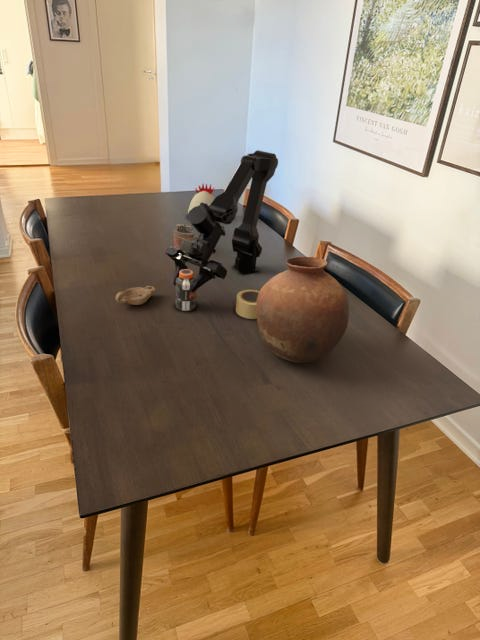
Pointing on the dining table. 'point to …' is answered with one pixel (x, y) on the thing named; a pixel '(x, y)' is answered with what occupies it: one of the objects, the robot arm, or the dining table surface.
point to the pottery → (302, 311)
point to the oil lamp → (135, 295)
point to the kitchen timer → (202, 197)
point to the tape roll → (247, 304)
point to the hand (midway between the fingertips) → (182, 288)
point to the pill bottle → (185, 290)
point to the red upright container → (182, 234)
